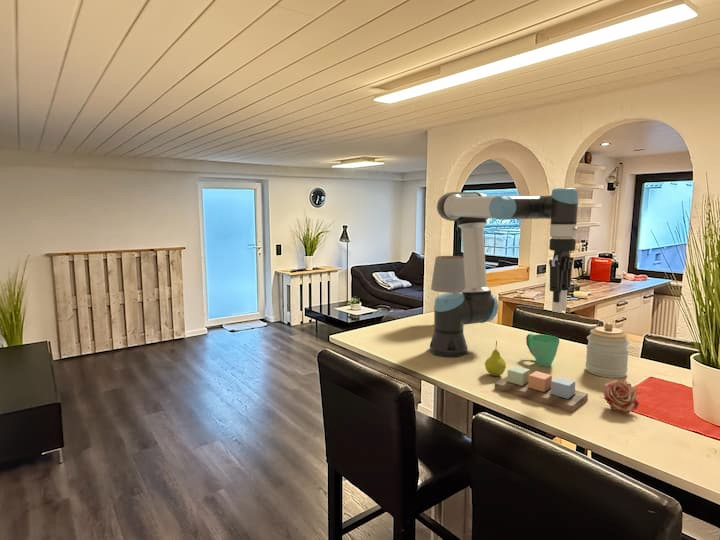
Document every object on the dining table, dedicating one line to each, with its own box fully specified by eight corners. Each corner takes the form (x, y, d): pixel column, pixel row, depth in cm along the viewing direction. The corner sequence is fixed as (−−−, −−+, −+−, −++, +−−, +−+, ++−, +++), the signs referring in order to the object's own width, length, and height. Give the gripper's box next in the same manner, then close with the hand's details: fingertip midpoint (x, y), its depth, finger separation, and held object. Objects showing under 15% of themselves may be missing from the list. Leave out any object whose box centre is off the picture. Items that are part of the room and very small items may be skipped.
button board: (494, 389, 142) (494, 383, 142) (512, 379, 151) (512, 373, 150) (571, 412, 125) (572, 405, 125) (587, 399, 133) (587, 393, 133)
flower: (591, 395, 133) (598, 380, 127) (620, 388, 133) (628, 373, 128) (611, 424, 126) (618, 410, 120) (641, 417, 126) (650, 402, 121)
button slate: (550, 394, 133) (551, 381, 132) (557, 389, 136) (558, 376, 136) (568, 398, 129) (568, 385, 129) (574, 393, 133) (575, 381, 132)
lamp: (430, 328, 217) (431, 259, 212) (430, 319, 235) (431, 255, 231) (470, 329, 214) (471, 259, 209) (467, 320, 232) (468, 255, 228)
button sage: (507, 381, 143) (507, 369, 142) (514, 377, 146) (515, 365, 146) (522, 385, 139) (522, 373, 139) (529, 381, 143) (529, 369, 142)
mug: (564, 367, 162) (565, 340, 160) (541, 370, 159) (542, 342, 158) (537, 354, 176) (538, 330, 174) (516, 357, 173) (517, 332, 171)
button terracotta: (528, 387, 138) (528, 375, 137) (535, 383, 141) (536, 371, 141) (544, 392, 134) (544, 379, 134) (551, 387, 138) (551, 375, 137)
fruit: (502, 380, 150) (503, 346, 148) (482, 376, 153) (483, 342, 152) (507, 374, 155) (508, 340, 154) (487, 370, 159) (488, 338, 157)
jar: (622, 367, 160) (625, 320, 158) (631, 380, 148) (635, 329, 146) (582, 364, 164) (585, 317, 162) (588, 376, 152) (591, 326, 150)
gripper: (564, 239, 132) (560, 317, 135) (584, 237, 143) (580, 308, 146) (539, 238, 137) (536, 313, 140) (560, 236, 148) (557, 305, 151)
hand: (559, 310), depth 143 cm, fingers open, 3 cm apart
